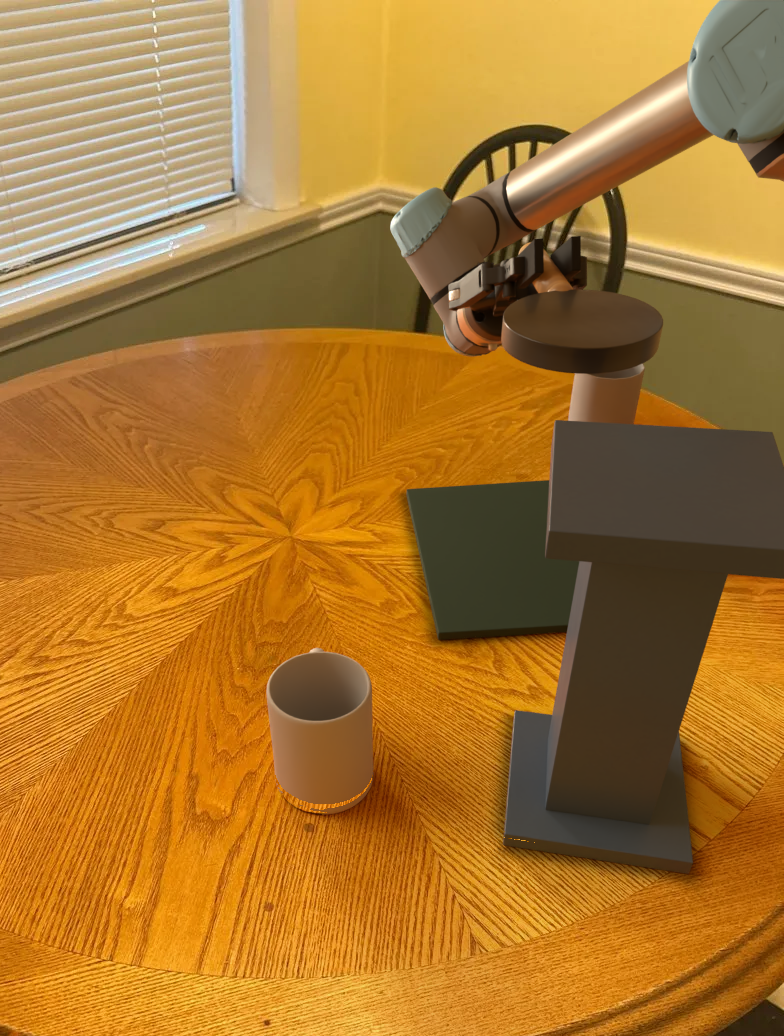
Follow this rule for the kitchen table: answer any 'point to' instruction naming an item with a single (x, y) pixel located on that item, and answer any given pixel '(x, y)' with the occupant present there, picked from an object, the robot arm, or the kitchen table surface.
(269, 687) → the mug
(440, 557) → the mat
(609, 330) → the brown paddle
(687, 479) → the stand
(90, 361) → the kitchen table surface
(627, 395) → the cup
